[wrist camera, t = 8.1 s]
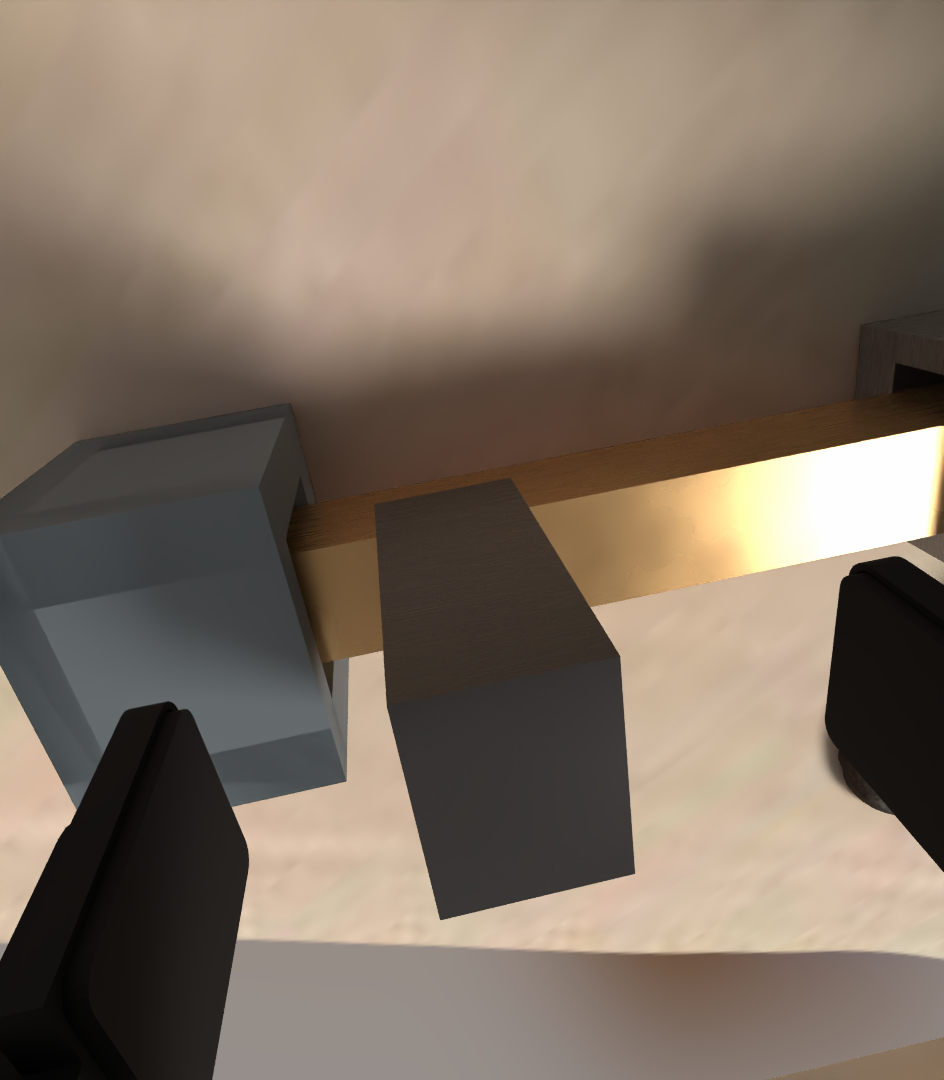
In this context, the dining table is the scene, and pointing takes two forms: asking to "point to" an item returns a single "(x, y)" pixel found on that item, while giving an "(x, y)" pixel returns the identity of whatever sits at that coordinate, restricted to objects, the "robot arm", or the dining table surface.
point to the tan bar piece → (579, 611)
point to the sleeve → (903, 370)
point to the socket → (172, 602)
